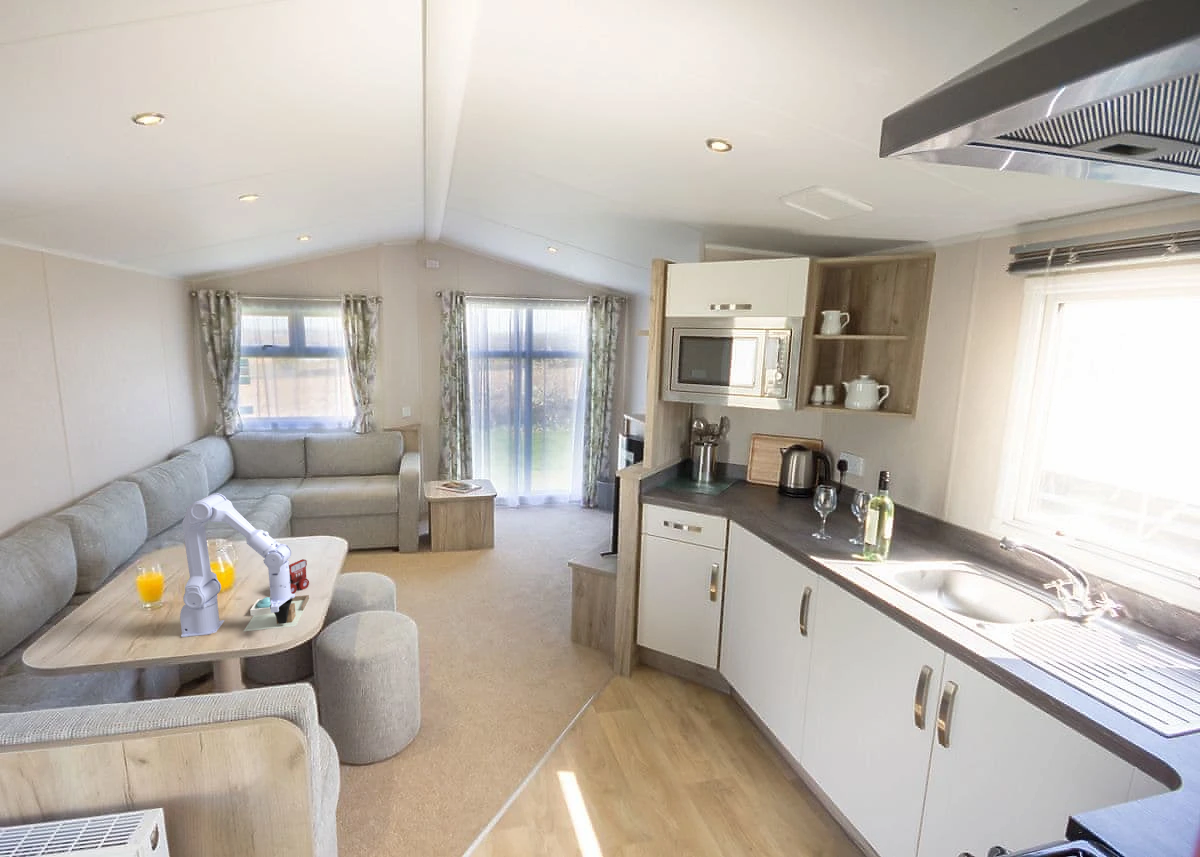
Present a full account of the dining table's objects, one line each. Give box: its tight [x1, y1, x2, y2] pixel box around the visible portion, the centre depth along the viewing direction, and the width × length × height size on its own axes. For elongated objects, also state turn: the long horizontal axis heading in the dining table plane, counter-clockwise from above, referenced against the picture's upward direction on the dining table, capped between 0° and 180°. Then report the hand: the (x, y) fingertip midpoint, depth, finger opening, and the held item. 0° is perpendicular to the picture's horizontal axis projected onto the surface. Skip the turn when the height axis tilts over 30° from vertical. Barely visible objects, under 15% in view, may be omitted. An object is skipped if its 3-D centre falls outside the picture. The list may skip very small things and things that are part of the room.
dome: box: [257, 596, 271, 608], centre depth 188 cm, size 6×6×4 cm
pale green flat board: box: [243, 594, 311, 632], centre depth 186 cm, size 16×20×3 cm
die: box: [276, 603, 296, 624], centre depth 182 cm, size 5×4×5 cm
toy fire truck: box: [289, 559, 310, 594], centre depth 203 cm, size 7×12×10 cm, turn 157°
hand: (282, 622), depth 179 cm, fingers closed
